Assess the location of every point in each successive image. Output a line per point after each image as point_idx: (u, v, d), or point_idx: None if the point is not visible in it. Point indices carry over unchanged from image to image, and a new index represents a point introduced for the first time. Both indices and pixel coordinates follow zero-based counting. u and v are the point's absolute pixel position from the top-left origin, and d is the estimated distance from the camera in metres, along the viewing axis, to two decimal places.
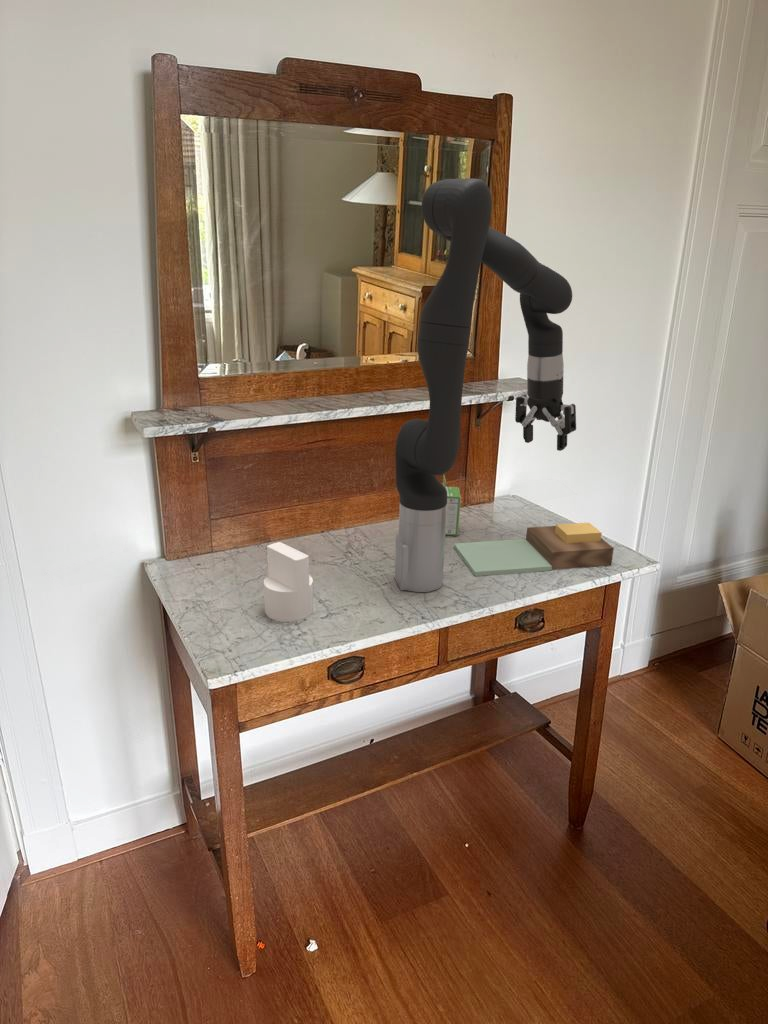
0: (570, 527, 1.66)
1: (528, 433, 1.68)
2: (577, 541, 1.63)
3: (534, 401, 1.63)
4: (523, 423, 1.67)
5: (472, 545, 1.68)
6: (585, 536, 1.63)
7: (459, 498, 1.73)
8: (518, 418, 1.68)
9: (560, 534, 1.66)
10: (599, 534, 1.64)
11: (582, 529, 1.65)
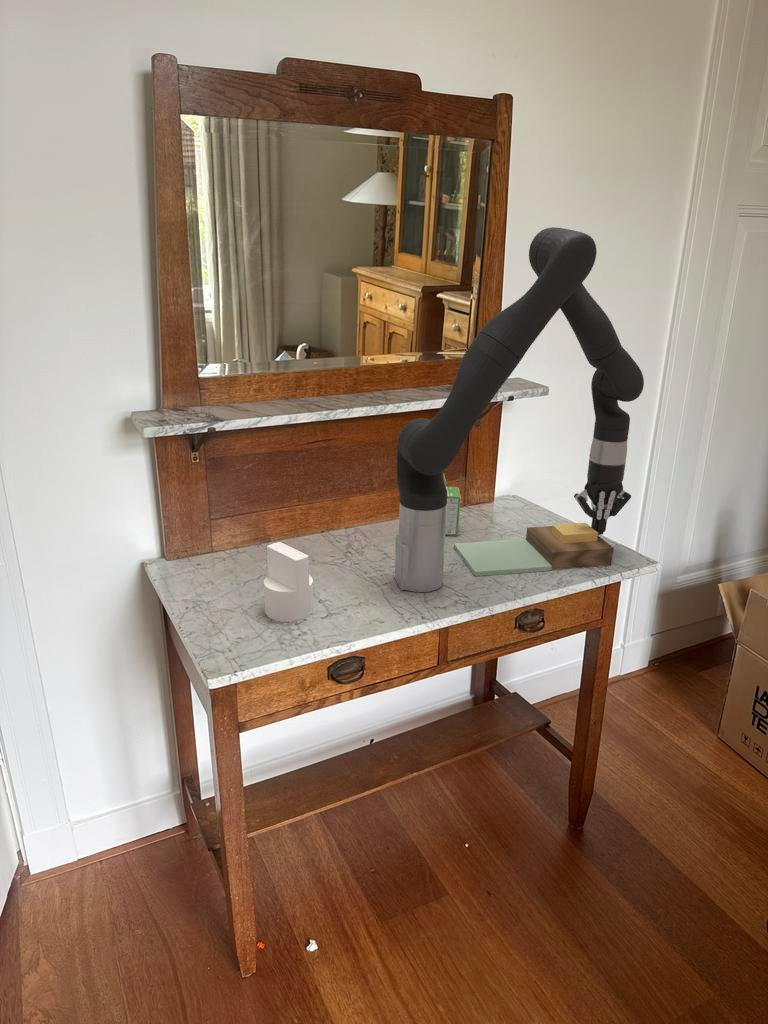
0: (566, 527, 1.66)
1: None
2: (573, 541, 1.63)
3: (598, 487, 1.62)
4: (599, 516, 1.64)
5: (472, 545, 1.68)
6: (581, 537, 1.63)
7: (459, 498, 1.73)
8: (593, 512, 1.64)
9: (556, 534, 1.66)
10: (595, 534, 1.64)
11: (579, 529, 1.65)
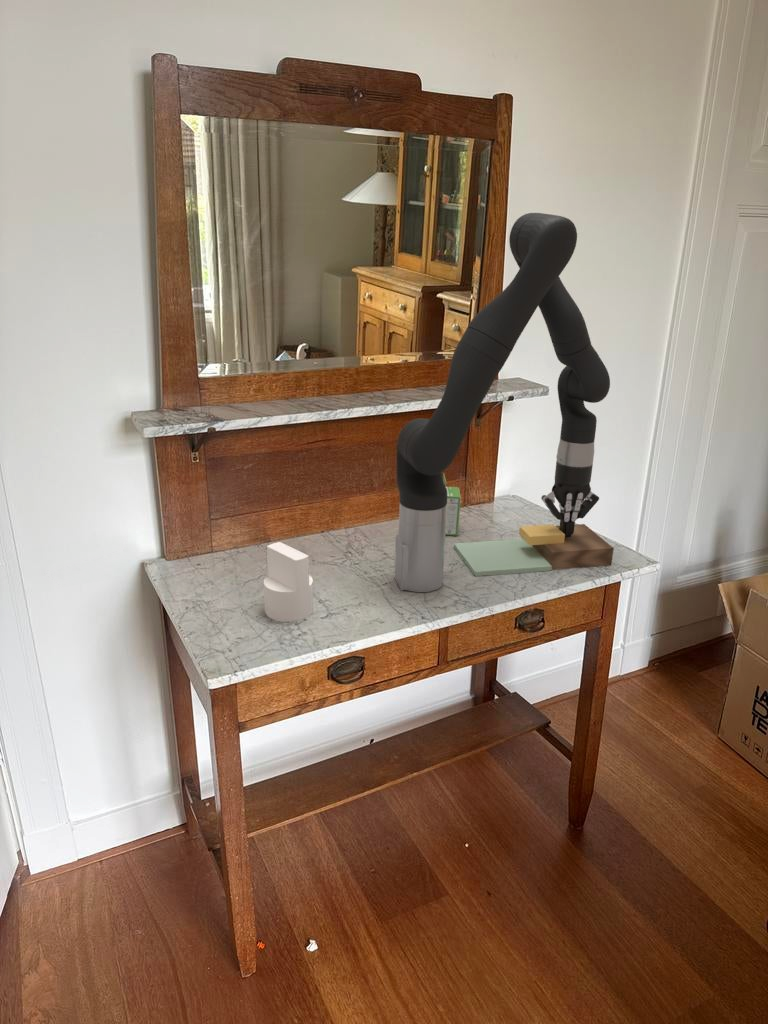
0: (533, 529, 1.65)
1: None
2: (540, 543, 1.62)
3: (565, 489, 1.60)
4: (566, 518, 1.63)
5: (472, 545, 1.68)
6: (548, 538, 1.62)
7: (459, 498, 1.73)
8: (561, 514, 1.62)
9: (523, 536, 1.64)
10: (562, 536, 1.62)
11: (546, 531, 1.64)
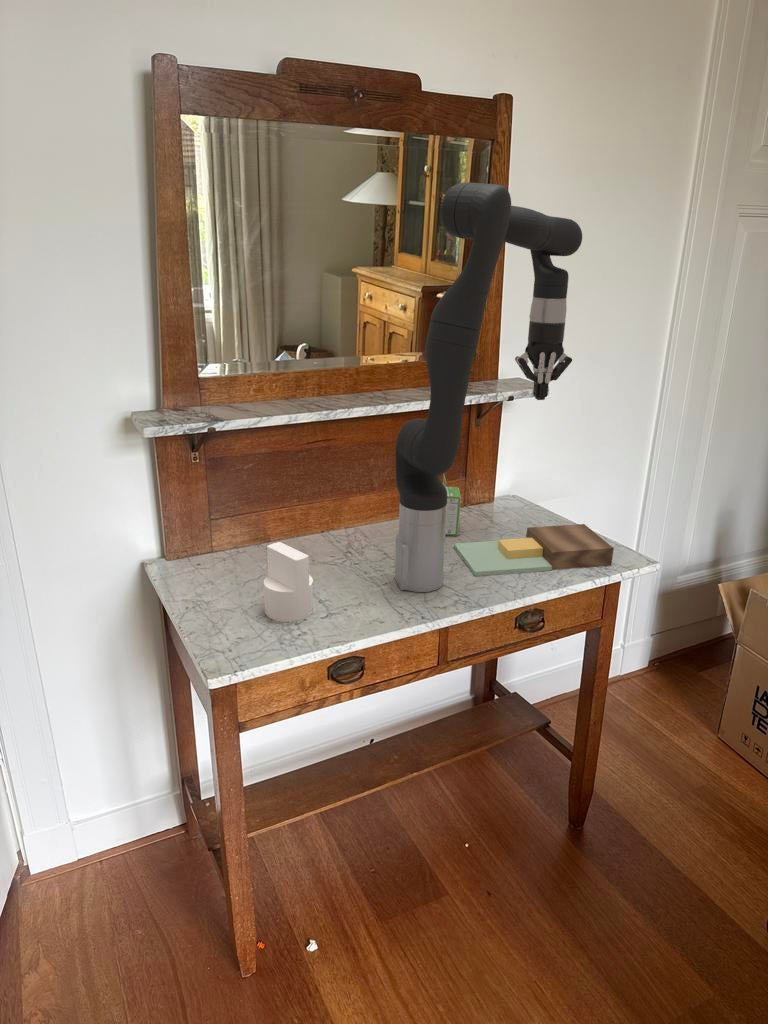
0: (512, 542, 1.65)
1: None
2: (518, 557, 1.62)
3: (538, 348, 1.62)
4: (540, 379, 1.65)
5: (472, 545, 1.68)
6: (526, 552, 1.62)
7: (459, 498, 1.73)
8: (534, 375, 1.64)
9: (502, 550, 1.65)
10: (541, 550, 1.63)
11: (524, 544, 1.64)
